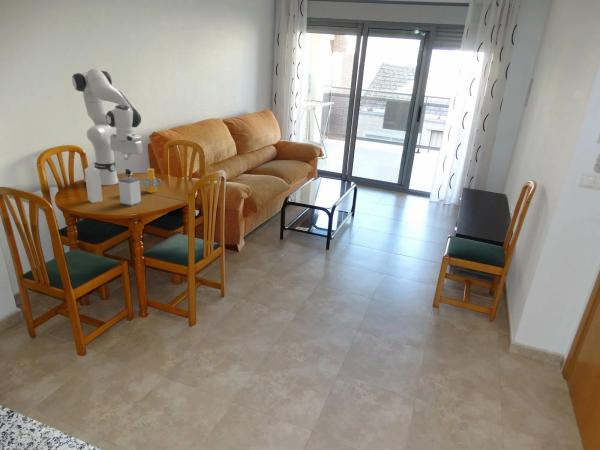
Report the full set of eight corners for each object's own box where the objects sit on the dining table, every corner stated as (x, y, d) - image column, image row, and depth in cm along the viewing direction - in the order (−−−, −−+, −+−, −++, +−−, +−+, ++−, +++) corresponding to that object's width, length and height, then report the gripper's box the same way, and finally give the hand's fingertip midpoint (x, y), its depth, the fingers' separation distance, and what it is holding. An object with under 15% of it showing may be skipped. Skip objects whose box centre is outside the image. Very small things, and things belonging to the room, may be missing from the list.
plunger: (123, 201, 243) (120, 169, 236) (130, 199, 248) (127, 167, 241) (131, 203, 242) (128, 171, 235) (137, 200, 246) (135, 169, 239)
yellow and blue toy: (154, 195, 262) (153, 172, 257) (139, 193, 264) (137, 170, 259) (164, 190, 274) (163, 168, 268) (149, 188, 275) (148, 166, 270)
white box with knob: (120, 204, 243) (118, 179, 238) (135, 198, 254) (133, 175, 248) (131, 206, 241) (129, 181, 235) (145, 201, 251) (143, 177, 246)
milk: (98, 198, 249) (94, 162, 241) (102, 201, 246) (98, 164, 238) (87, 200, 245) (83, 164, 237) (92, 203, 241) (87, 166, 233)
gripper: (106, 134, 231) (108, 158, 236) (135, 138, 225) (137, 163, 230) (114, 132, 237) (116, 156, 242) (143, 137, 230) (145, 161, 235)
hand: (127, 160), depth 236 cm, fingers closed
